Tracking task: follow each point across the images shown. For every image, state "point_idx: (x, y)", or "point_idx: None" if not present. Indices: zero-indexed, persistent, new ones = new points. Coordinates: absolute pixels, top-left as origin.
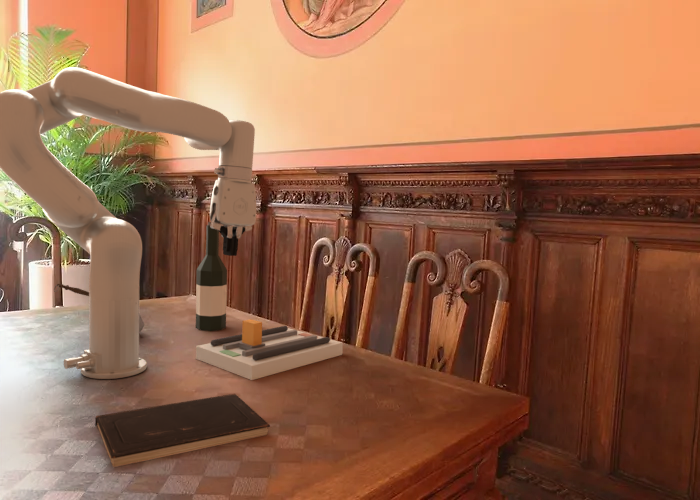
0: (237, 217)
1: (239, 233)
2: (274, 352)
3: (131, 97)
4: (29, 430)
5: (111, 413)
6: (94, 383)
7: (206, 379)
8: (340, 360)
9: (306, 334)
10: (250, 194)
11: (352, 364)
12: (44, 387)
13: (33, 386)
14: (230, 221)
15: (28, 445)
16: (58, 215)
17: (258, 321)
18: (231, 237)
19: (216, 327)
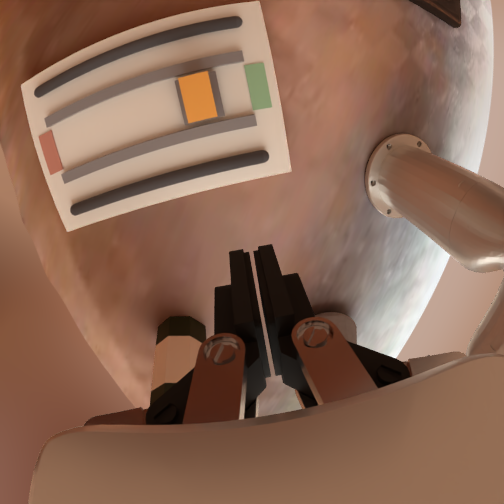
0: (346, 496)
1: (216, 370)
2: (187, 25)
3: None
4: (484, 62)
5: (451, 17)
6: (431, 138)
7: (318, 53)
8: (53, 51)
9: (50, 160)
10: None
11: (52, 26)
12: (460, 159)
13: None
14: (434, 399)
15: (485, 37)
16: None
17: (182, 90)
18: (297, 325)
19: (178, 320)
